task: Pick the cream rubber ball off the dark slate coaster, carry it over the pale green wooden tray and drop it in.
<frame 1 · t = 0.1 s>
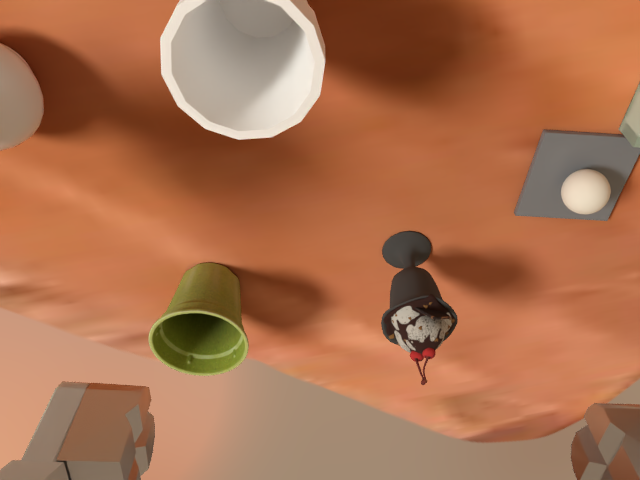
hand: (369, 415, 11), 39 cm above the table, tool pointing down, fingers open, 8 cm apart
sundae: (406, 248, 60), on the table
plant pot: (211, 280, 63), on the table
ball: (577, 179, 53), resting on coaster
coaster: (576, 176, 54), on the table
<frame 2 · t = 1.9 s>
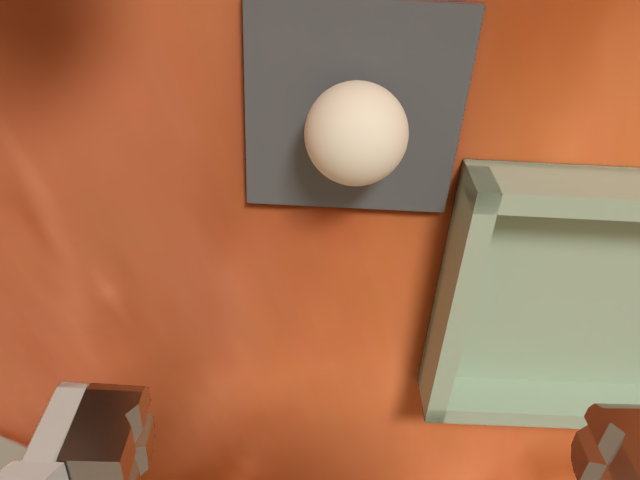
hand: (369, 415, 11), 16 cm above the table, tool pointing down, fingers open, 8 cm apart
ball: (354, 114, 24), resting on coaster
coaster: (353, 109, 25), on the table
tray: (593, 290, 30), on the table
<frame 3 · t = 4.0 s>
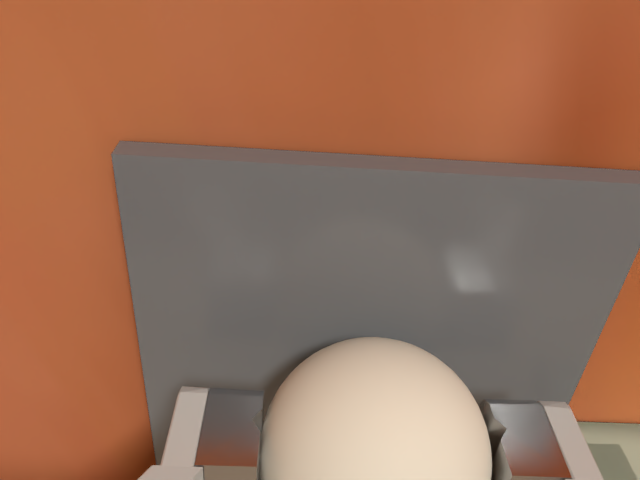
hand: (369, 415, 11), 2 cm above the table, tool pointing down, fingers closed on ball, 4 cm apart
ball: (365, 367, 12), resting on coaster, touching gripper
coaster: (363, 350, 12), on the table
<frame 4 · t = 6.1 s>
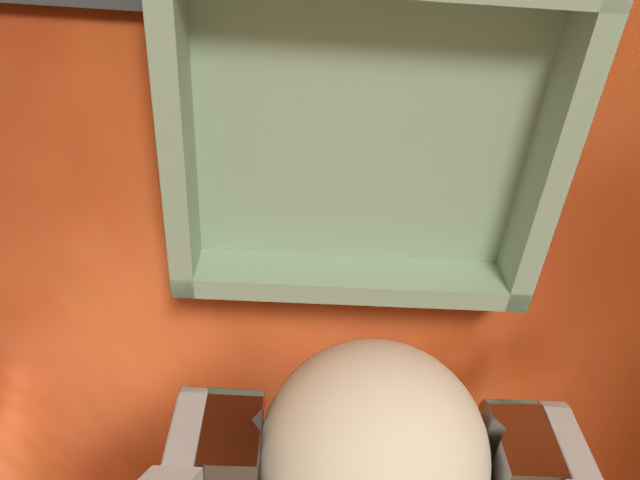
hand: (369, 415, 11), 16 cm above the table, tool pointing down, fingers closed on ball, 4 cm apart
ball: (364, 369, 12), point 15 cm above the table, touching gripper
tray: (363, 132, 25), on the table
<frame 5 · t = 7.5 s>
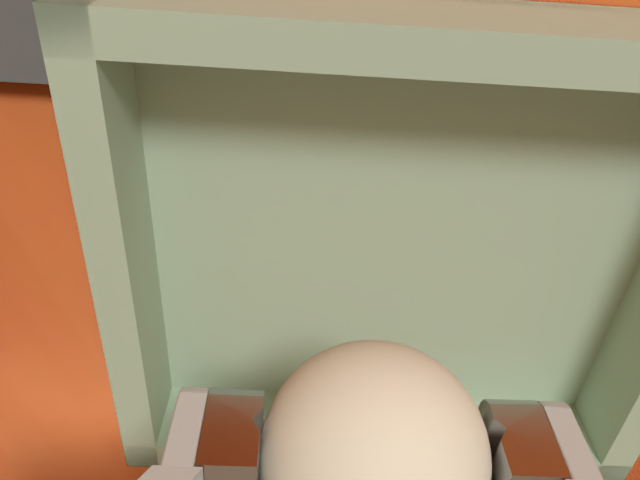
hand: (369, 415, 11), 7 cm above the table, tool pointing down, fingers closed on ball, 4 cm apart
ball: (365, 370, 12), point 6 cm above the table, touching gripper
tray: (396, 244, 17), on the table
when the fingers open (4 cm above the table, at t = 8.3 s): ball drops 2 cm, resting on tray.
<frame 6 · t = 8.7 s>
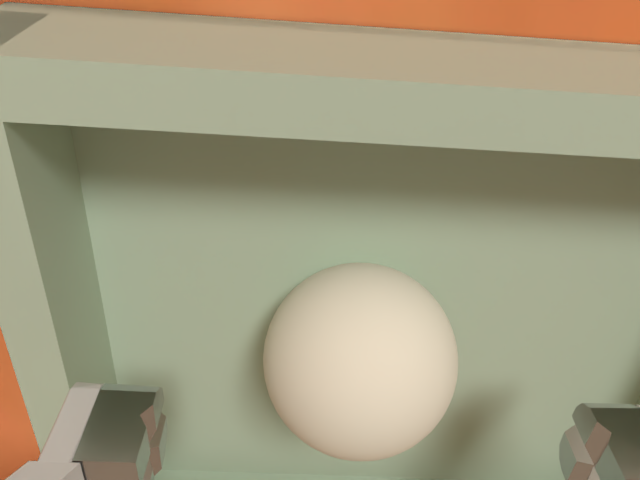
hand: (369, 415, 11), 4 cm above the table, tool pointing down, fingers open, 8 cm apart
ball: (359, 297, 14), point 1 cm above the table, touching tray
tray: (390, 313, 15), on the table
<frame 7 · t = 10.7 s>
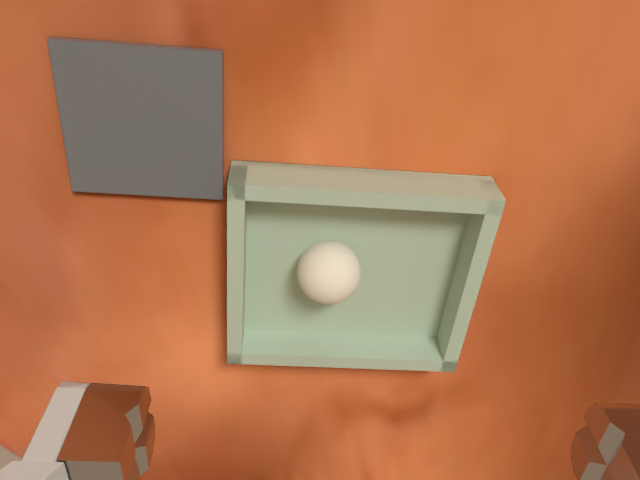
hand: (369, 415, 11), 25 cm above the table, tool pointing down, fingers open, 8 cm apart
ball: (338, 255, 38), point 1 cm above the table, tilted 21°, touching tray
coaster: (144, 122, 34), on the table
tray: (350, 261, 40), on the table
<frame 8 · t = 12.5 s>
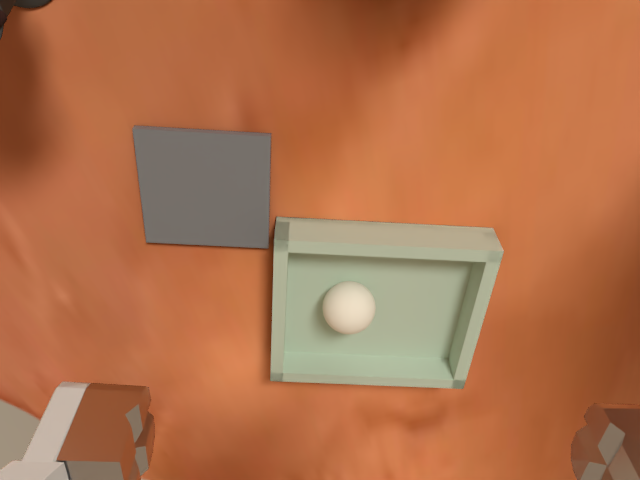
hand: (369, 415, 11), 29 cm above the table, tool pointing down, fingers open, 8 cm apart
ball: (363, 294, 46), point 1 cm above the table, tilted 37°, touching tray
coaster: (206, 188, 41), on the table
tray: (374, 296, 47), on the table
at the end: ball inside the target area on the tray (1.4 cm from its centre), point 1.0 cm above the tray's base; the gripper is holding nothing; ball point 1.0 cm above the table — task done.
